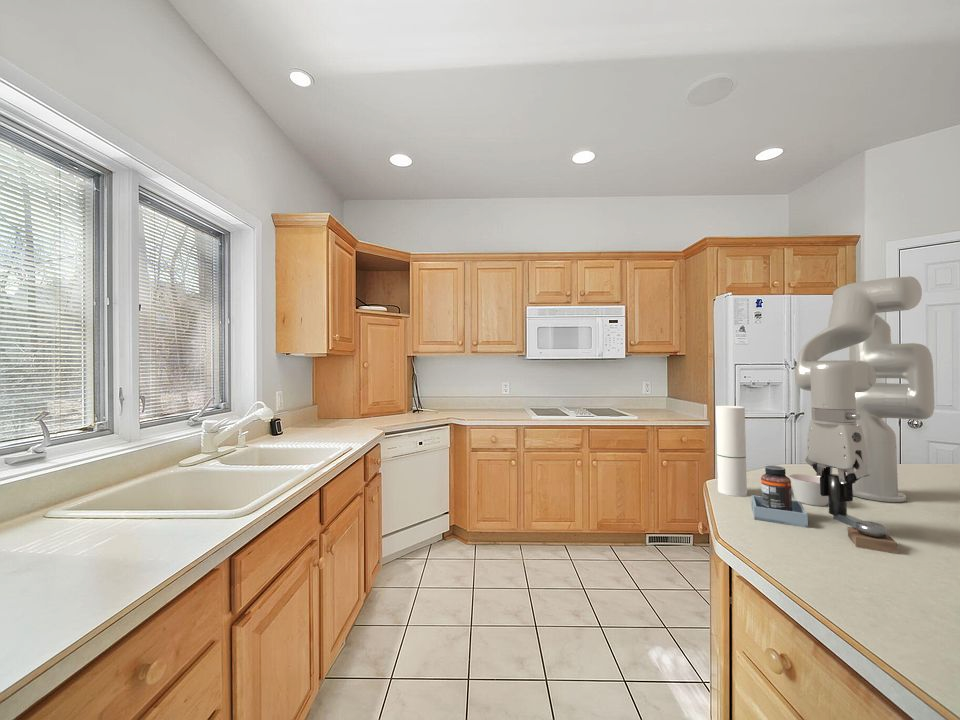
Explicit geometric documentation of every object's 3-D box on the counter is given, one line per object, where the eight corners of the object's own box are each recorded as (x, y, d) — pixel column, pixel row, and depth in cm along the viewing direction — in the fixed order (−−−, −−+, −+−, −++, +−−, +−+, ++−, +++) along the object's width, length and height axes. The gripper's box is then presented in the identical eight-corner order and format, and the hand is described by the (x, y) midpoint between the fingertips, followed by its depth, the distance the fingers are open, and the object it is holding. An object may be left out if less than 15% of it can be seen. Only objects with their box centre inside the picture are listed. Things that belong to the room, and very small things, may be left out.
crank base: (847, 535, 85) (847, 525, 85) (886, 541, 82) (886, 531, 82) (856, 546, 80) (855, 535, 80) (897, 553, 77) (897, 542, 77)
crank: (893, 537, 79) (891, 488, 79) (871, 537, 79) (869, 489, 79) (841, 516, 90) (840, 473, 90) (822, 516, 90) (821, 474, 90)
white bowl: (787, 502, 106) (787, 478, 106) (792, 494, 113) (791, 472, 113) (832, 510, 100) (831, 485, 100) (834, 501, 106) (833, 478, 107)
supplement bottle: (786, 510, 99) (785, 465, 99) (797, 519, 93) (795, 471, 93) (758, 508, 101) (757, 463, 101) (767, 516, 95) (765, 469, 95)
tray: (751, 506, 103) (751, 495, 103) (800, 513, 98) (799, 501, 98) (754, 519, 95) (754, 506, 95) (807, 527, 90) (807, 514, 90)
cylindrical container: (746, 491, 116) (744, 406, 117) (747, 497, 110) (744, 408, 111) (718, 487, 120) (716, 405, 121) (717, 493, 114) (715, 407, 115)
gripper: (889, 420, 81) (893, 510, 81) (813, 411, 97) (815, 486, 97) (857, 421, 80) (861, 512, 80) (786, 412, 97) (788, 488, 96)
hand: (836, 497), depth 89 cm, fingers closed on crank, 3 cm apart
